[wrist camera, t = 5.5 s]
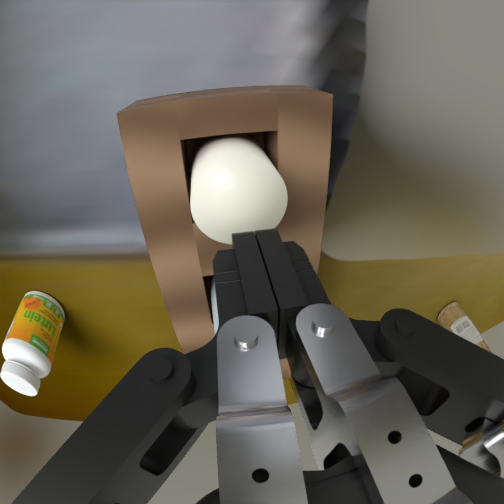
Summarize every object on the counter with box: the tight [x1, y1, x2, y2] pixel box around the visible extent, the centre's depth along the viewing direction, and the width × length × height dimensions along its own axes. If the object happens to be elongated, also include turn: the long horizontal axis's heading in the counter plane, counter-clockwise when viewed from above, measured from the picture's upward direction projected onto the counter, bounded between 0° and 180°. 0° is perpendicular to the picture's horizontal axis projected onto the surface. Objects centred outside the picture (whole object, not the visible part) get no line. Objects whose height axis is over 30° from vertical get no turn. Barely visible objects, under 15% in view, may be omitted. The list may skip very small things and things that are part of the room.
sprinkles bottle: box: [438, 302, 492, 353], centre depth 33 cm, size 5×5×14 cm
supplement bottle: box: [1, 291, 65, 396], centre depth 21 cm, size 5×5×10 cm
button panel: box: [117, 86, 333, 379], centre depth 23 cm, size 27×11×5 cm, turn 2°
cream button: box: [190, 133, 288, 244], centre depth 15 cm, size 4×4×5 cm
